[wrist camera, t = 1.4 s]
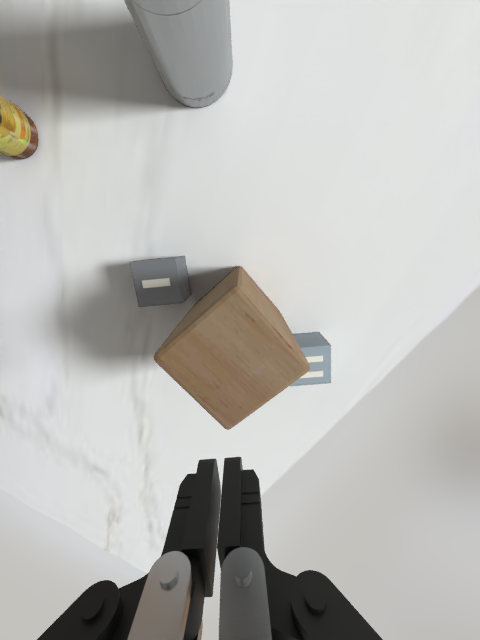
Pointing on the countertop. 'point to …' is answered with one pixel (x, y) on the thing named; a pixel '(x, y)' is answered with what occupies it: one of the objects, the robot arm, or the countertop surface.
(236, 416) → the wooden block
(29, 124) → the sauce bottle
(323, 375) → the slate marked block
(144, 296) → the charcoal marked block
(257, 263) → the countertop surface
